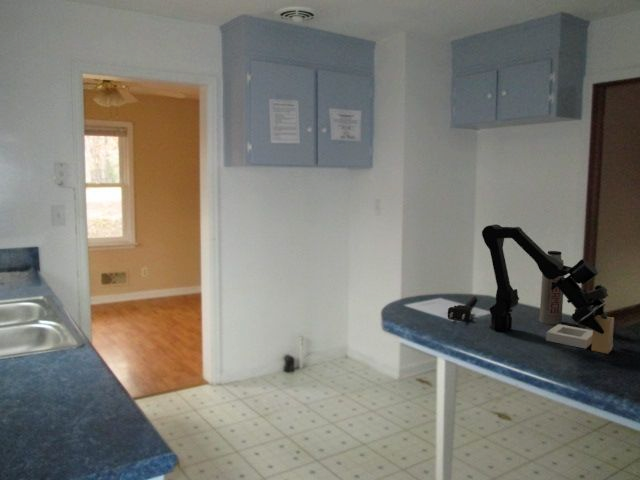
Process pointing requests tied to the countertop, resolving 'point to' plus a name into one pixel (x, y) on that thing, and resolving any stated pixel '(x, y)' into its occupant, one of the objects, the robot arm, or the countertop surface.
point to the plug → (603, 335)
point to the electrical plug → (461, 311)
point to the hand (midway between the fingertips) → (606, 330)
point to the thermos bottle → (551, 297)
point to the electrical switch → (582, 325)
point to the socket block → (570, 336)
